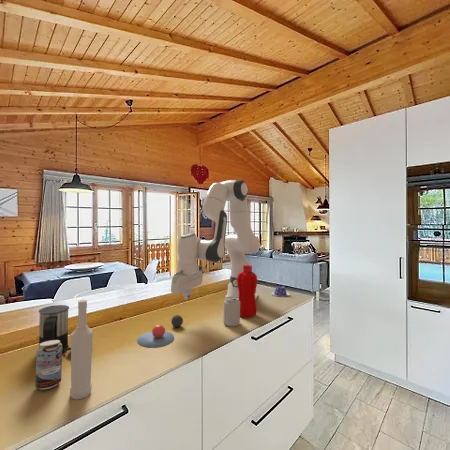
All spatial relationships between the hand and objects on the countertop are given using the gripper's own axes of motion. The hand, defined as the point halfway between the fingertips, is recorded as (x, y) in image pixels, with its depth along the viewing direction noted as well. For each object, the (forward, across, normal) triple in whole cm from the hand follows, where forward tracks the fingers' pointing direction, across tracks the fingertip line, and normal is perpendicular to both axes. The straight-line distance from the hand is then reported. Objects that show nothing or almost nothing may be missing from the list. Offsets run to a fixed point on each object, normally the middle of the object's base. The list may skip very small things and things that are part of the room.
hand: (187, 298), depth 123 cm
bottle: (+10, -56, -4) cm, 57 cm away
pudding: (+13, +69, -25) cm, 75 cm away
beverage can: (+10, -58, +7) cm, 59 cm away
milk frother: (+10, -43, +22) cm, 49 cm away
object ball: (+8, -19, 0) cm, 21 cm away
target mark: (+10, -21, 0) cm, 23 cm away
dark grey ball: (+8, -7, +1) cm, 11 cm away
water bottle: (+12, +22, -21) cm, 33 cm away
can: (+11, +8, -19) cm, 23 cm away
